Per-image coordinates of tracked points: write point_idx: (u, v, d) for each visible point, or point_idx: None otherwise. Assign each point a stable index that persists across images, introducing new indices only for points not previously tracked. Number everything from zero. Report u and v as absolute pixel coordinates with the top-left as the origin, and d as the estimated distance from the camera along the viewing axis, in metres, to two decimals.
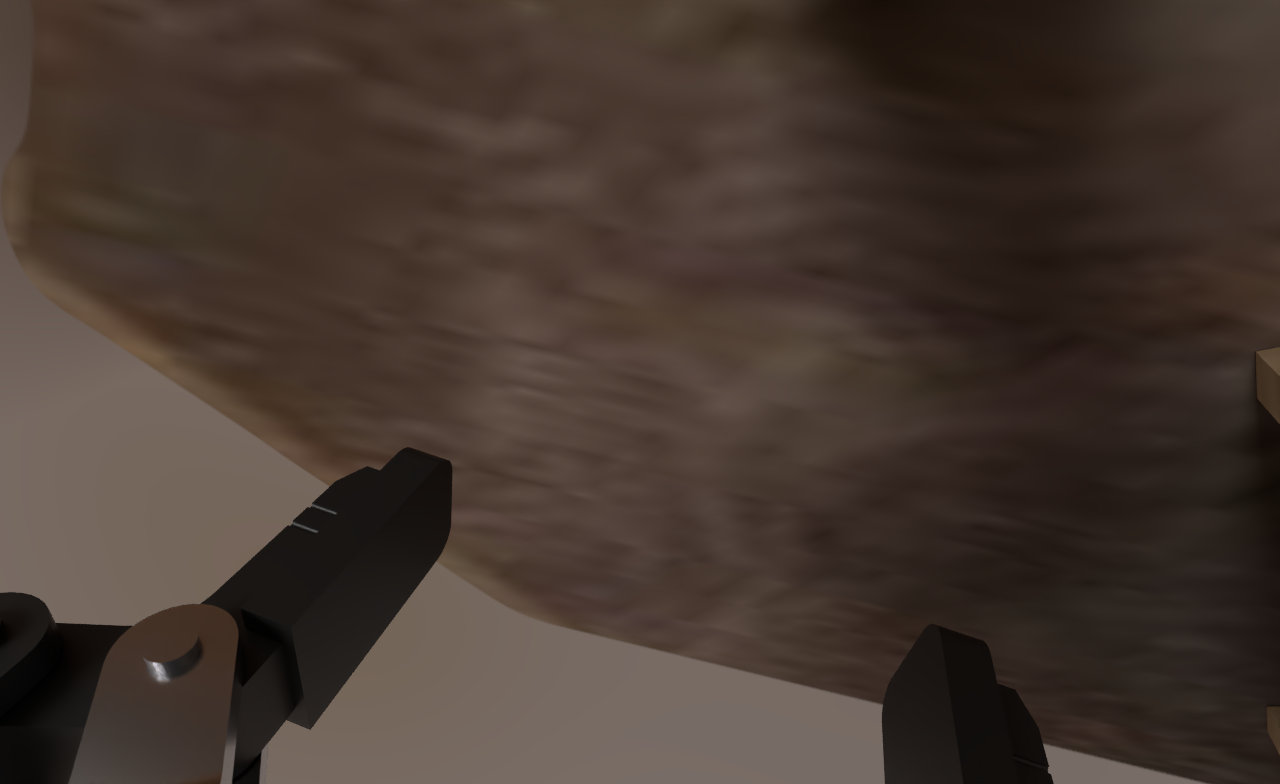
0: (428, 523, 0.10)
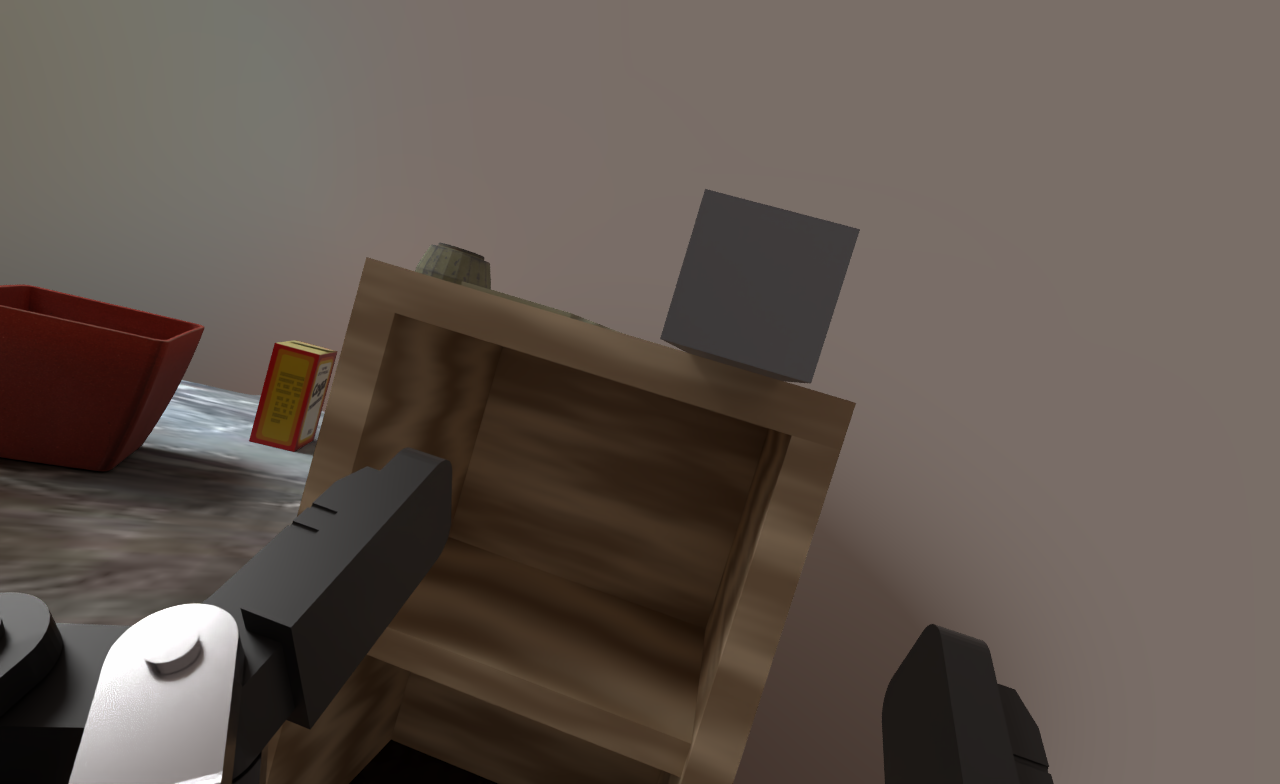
0: (427, 523, 0.10)
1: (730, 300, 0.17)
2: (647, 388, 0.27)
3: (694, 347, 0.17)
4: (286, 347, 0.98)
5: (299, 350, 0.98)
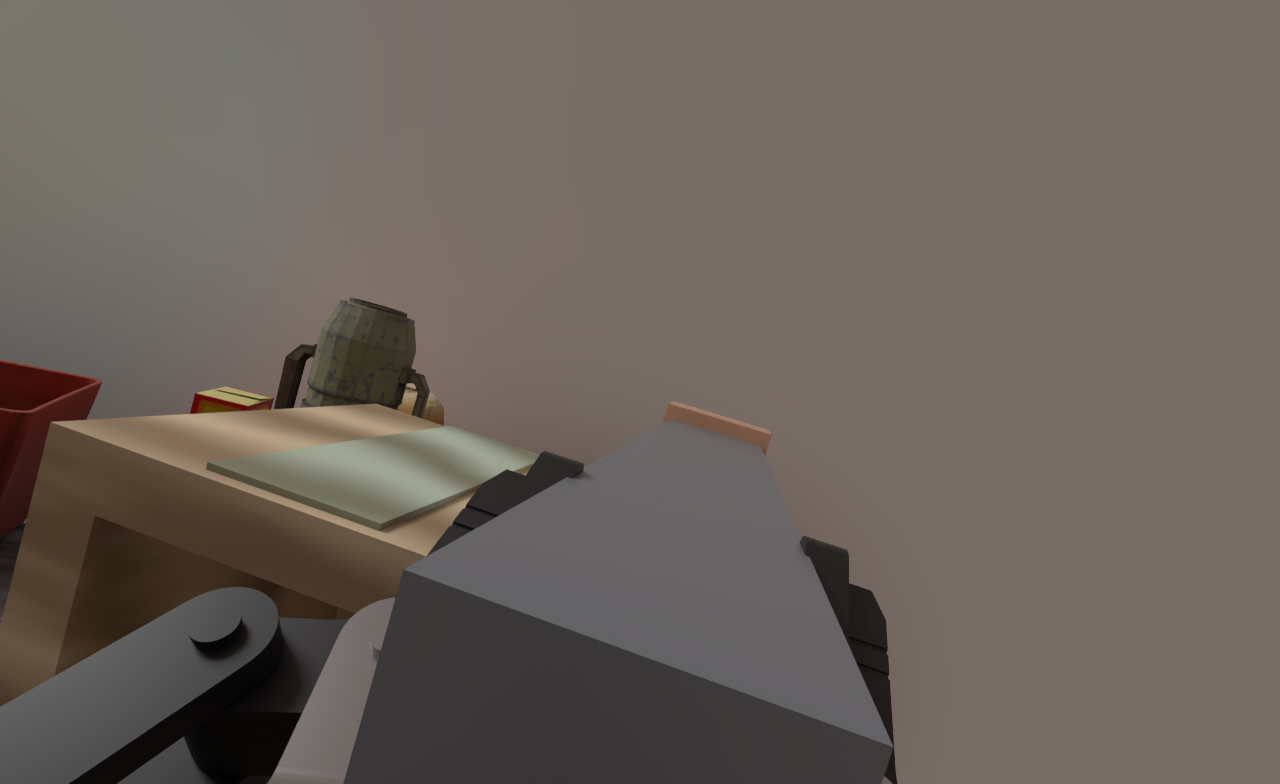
0: None
1: None
2: None
3: None
4: (208, 398, 0.86)
5: (223, 401, 0.87)
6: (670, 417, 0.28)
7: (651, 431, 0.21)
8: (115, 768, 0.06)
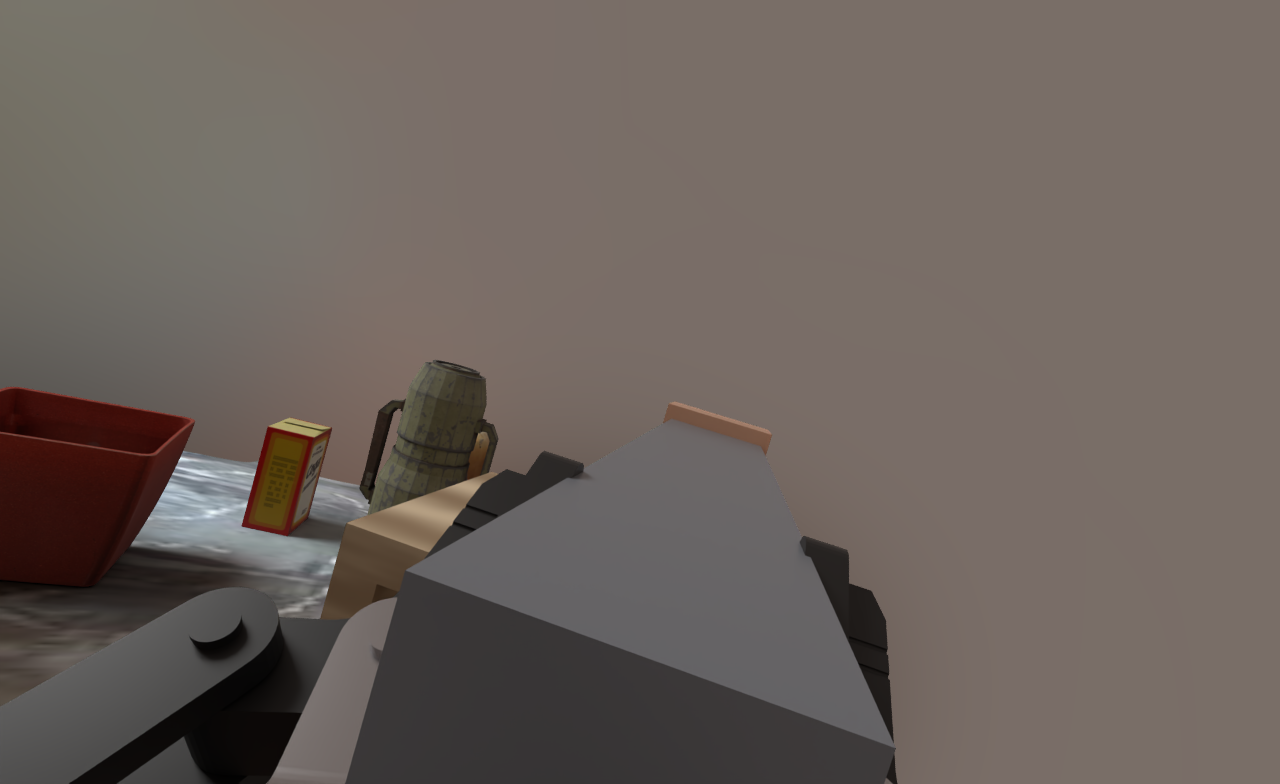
0: None
1: None
2: None
3: None
4: (279, 430, 0.96)
5: (293, 433, 0.96)
6: (670, 417, 0.28)
7: (652, 431, 0.21)
8: (115, 768, 0.06)
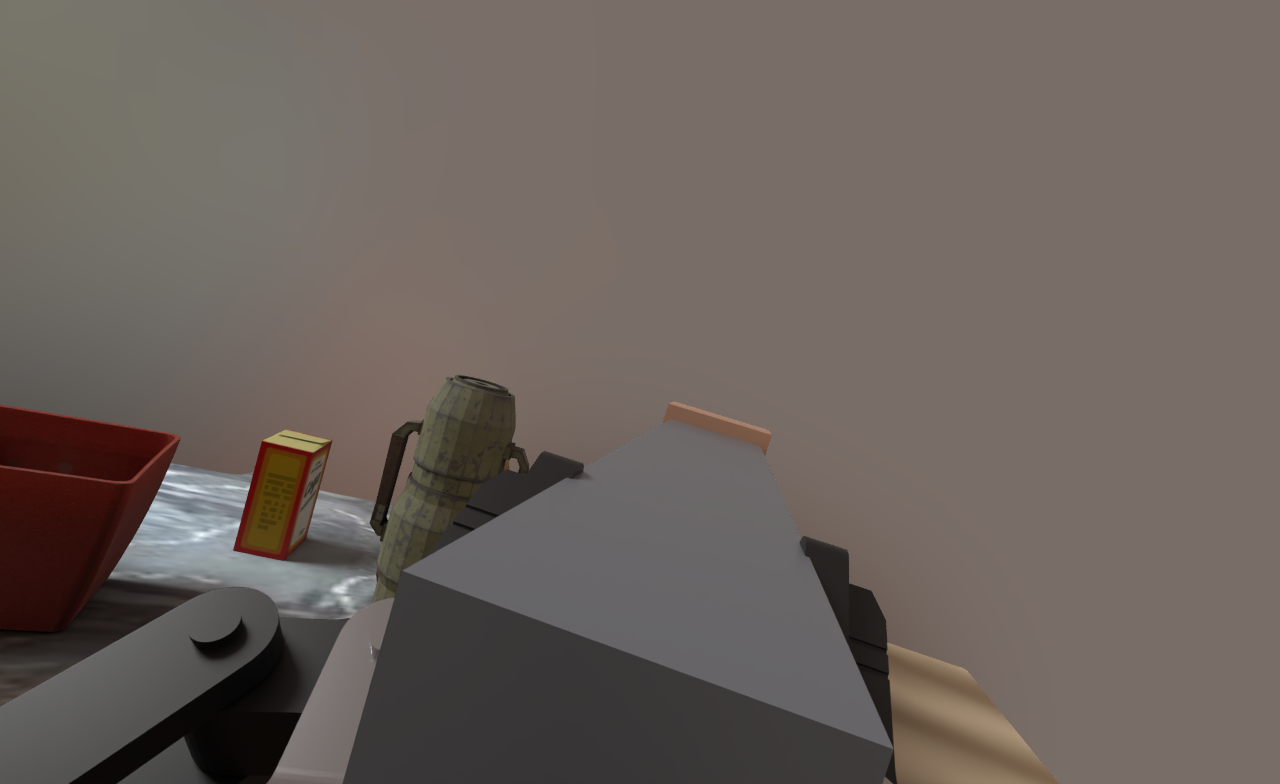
0: None
1: None
2: None
3: None
4: (275, 445, 0.87)
5: (289, 448, 0.87)
6: (670, 417, 0.28)
7: (651, 431, 0.21)
8: (115, 768, 0.06)
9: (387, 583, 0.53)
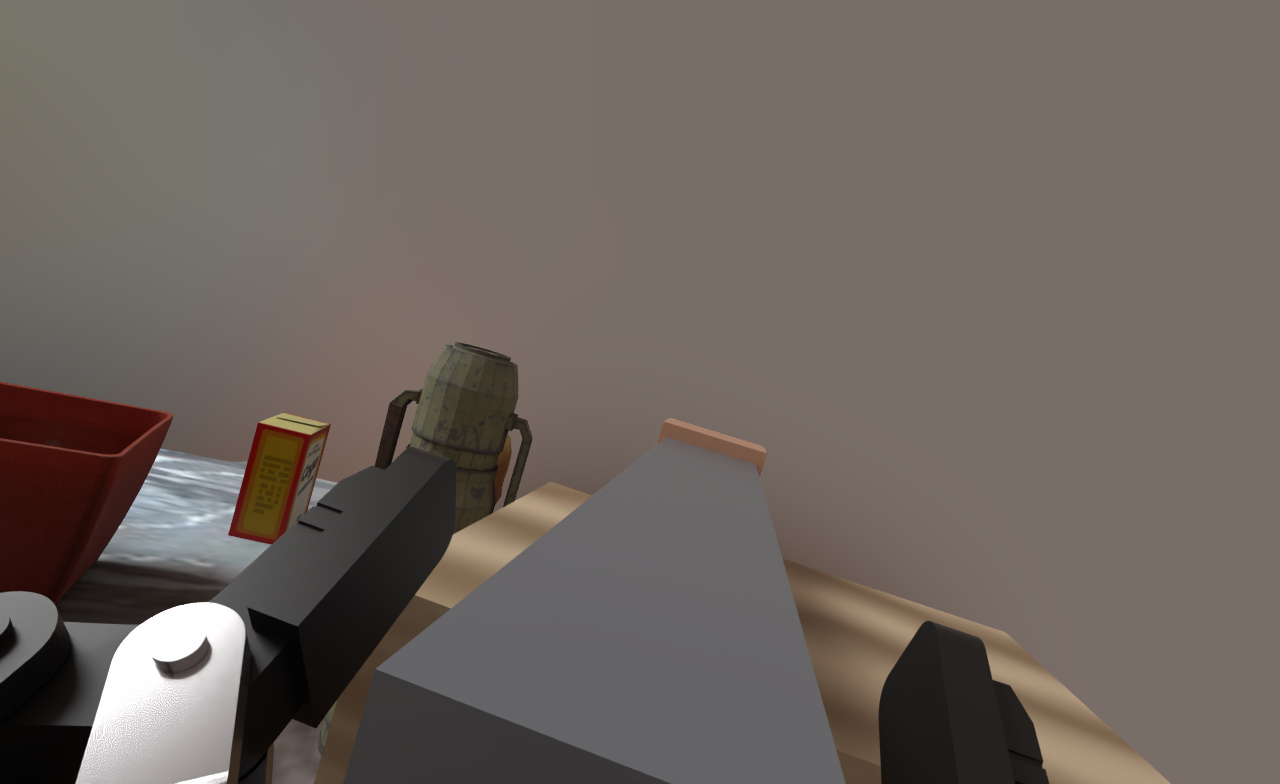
0: (432, 523, 0.10)
1: None
2: None
3: None
4: (271, 427, 0.85)
5: (286, 430, 0.85)
6: (665, 435, 0.28)
7: (644, 456, 0.21)
8: None
9: None
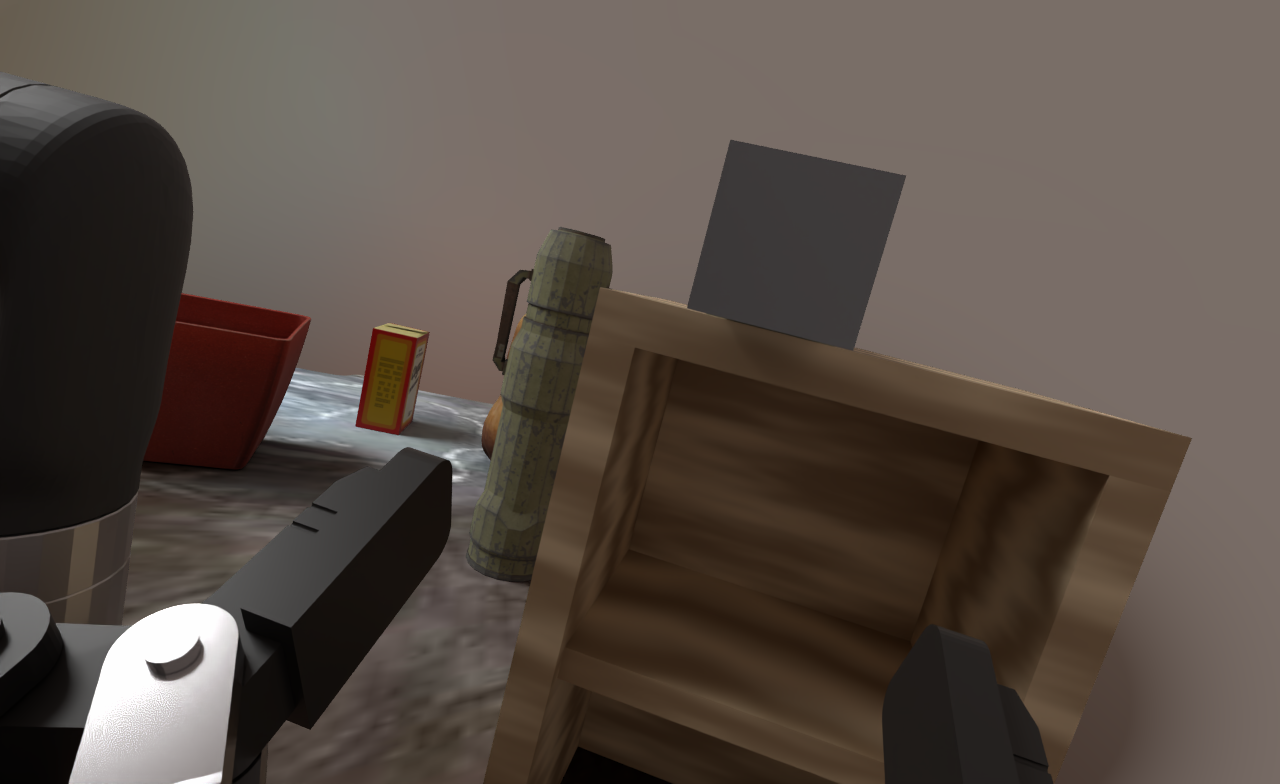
0: (427, 523, 0.10)
1: (762, 263, 0.15)
2: (932, 425, 0.24)
3: (724, 316, 0.15)
4: (384, 332, 0.98)
5: (397, 334, 0.98)
6: None
7: None
8: None
9: (512, 406, 0.62)
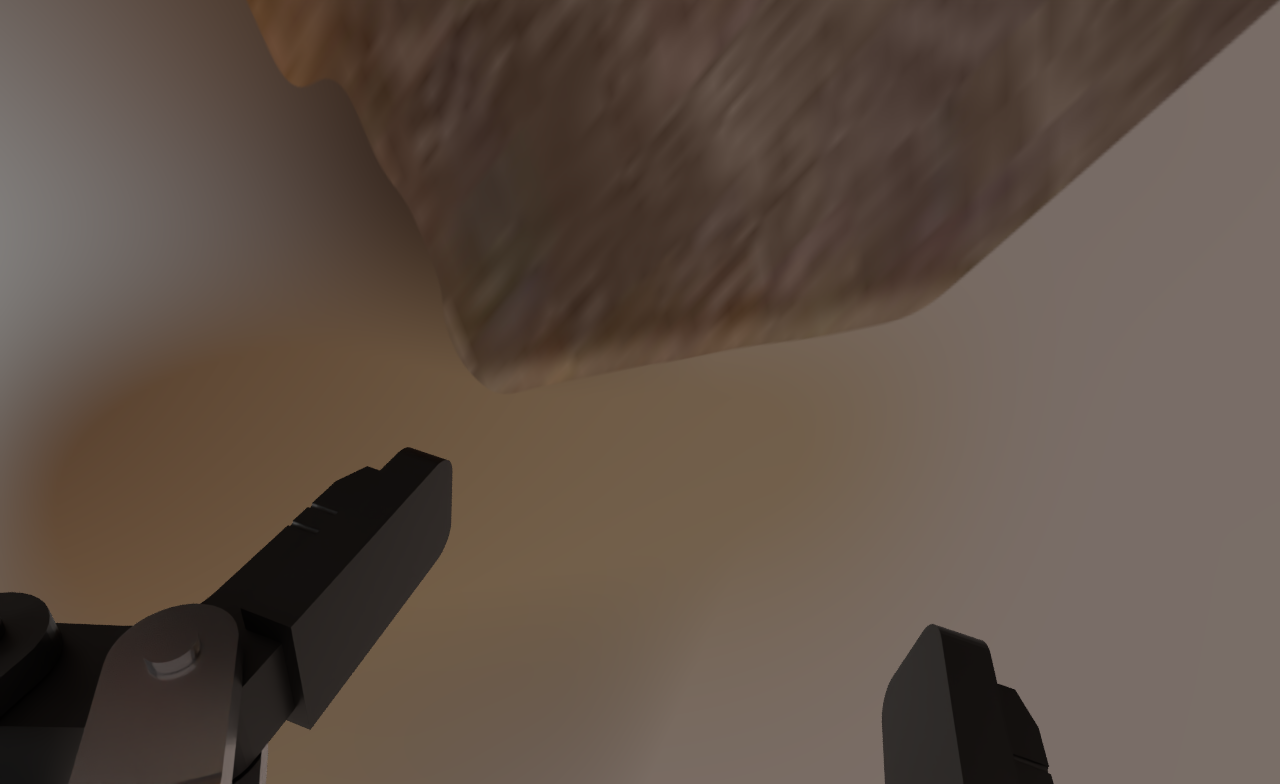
0: (427, 523, 0.10)
1: None
2: None
3: None
4: None
5: None
6: None
7: None
8: None
9: None
